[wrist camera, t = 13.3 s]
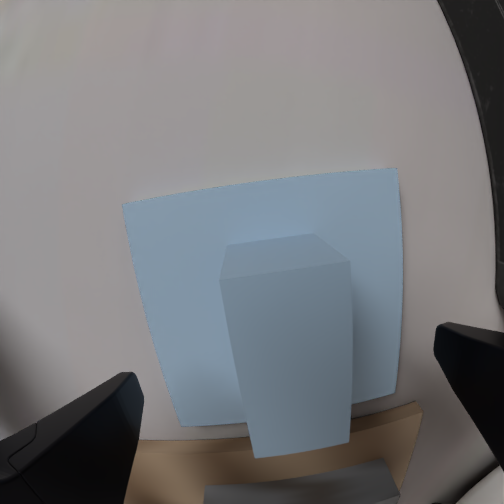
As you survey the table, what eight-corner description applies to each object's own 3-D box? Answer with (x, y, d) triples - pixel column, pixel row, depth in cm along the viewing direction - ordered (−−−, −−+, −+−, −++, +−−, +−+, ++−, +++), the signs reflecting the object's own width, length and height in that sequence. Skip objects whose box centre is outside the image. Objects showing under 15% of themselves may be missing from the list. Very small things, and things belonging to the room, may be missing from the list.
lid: (185, 406, 14) (167, 492, 9) (135, 201, 12) (64, 217, 7) (383, 376, 14) (430, 448, 9) (380, 168, 12) (462, 165, 7)
